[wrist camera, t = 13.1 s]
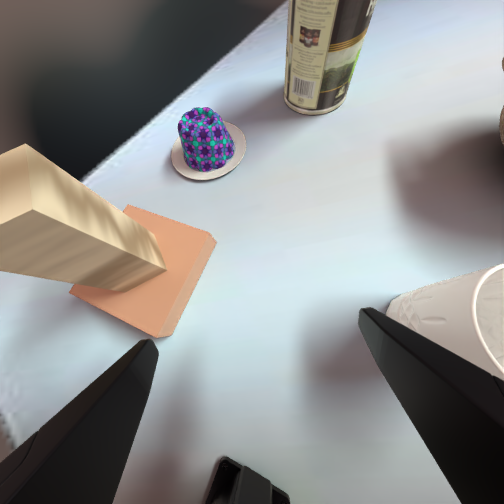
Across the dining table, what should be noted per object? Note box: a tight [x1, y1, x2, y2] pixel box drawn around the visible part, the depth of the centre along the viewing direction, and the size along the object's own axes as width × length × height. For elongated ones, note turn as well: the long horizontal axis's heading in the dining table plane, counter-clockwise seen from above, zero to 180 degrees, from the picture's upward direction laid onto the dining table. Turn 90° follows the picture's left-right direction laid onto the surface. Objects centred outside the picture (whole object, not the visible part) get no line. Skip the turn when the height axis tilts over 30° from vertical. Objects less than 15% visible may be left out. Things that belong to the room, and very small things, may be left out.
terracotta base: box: [69, 205, 217, 338], centre depth 23 cm, size 12×12×3 cm
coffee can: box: [283, 0, 377, 115], centre depth 25 cm, size 10×10×14 cm
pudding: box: [171, 107, 246, 180], centre depth 28 cm, size 12×12×5 cm
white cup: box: [386, 263, 504, 380], centre depth 15 cm, size 8×8×10 cm
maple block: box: [0, 144, 167, 292], centre depth 16 cm, size 5×5×12 cm
